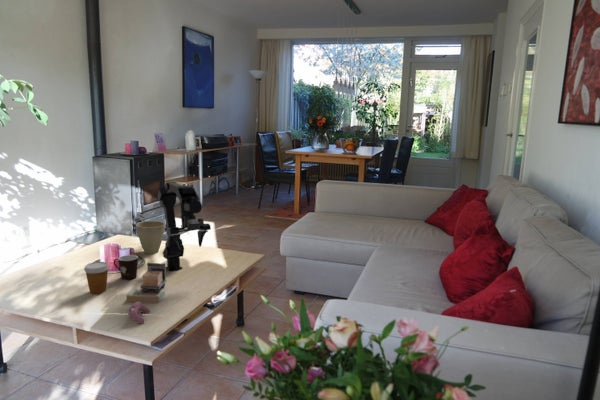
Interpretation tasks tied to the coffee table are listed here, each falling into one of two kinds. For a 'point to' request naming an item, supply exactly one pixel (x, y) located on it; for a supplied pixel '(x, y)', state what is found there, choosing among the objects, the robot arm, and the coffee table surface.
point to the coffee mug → (128, 266)
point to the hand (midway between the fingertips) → (190, 248)
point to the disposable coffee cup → (97, 277)
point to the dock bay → (144, 297)
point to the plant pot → (150, 235)
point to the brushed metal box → (154, 277)
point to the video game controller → (138, 312)
